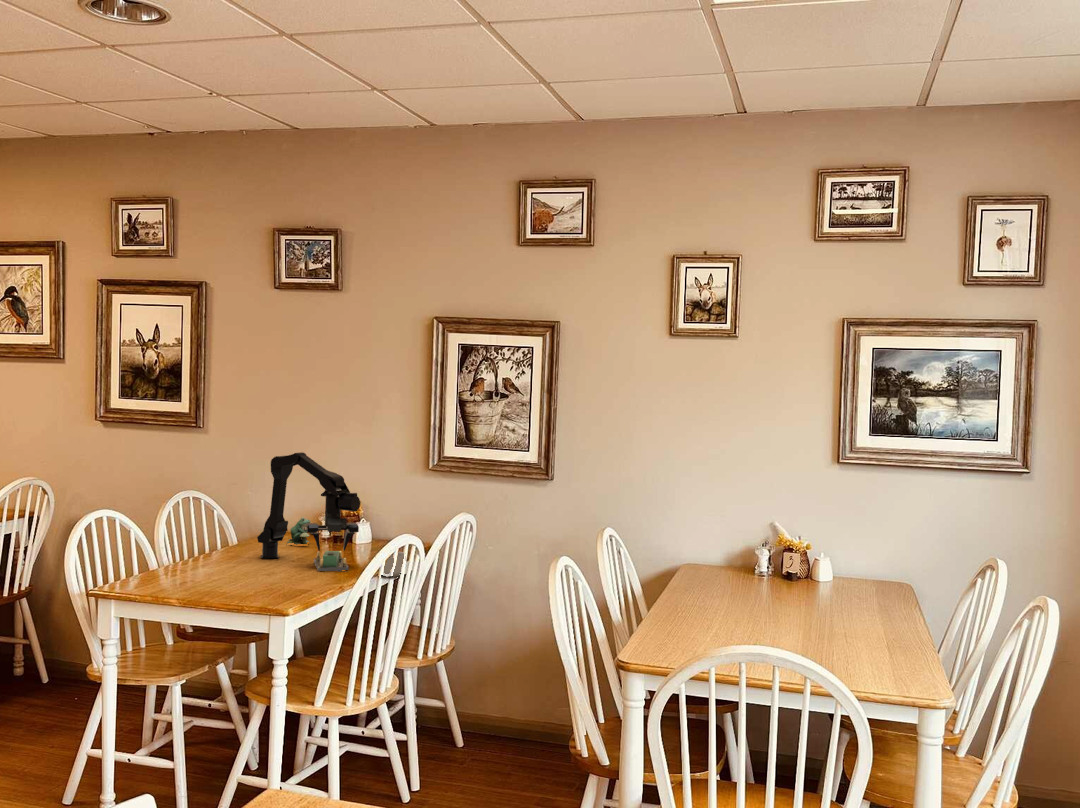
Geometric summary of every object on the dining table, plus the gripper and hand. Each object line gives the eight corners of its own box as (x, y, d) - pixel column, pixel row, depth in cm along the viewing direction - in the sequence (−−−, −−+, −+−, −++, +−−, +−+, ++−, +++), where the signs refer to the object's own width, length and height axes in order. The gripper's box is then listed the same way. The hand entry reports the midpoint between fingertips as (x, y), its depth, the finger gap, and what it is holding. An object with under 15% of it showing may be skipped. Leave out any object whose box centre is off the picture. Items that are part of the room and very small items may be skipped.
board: (325, 560, 364) (325, 549, 363) (338, 560, 364) (339, 550, 364) (322, 565, 354) (322, 554, 353) (336, 565, 354) (336, 555, 354)
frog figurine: (320, 549, 393) (321, 521, 393) (274, 549, 390) (275, 521, 389) (322, 542, 411) (323, 515, 410) (278, 541, 407) (279, 514, 407)
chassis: (313, 562, 365) (314, 550, 365) (343, 562, 369) (343, 550, 369) (318, 571, 349) (318, 559, 349) (348, 571, 353) (349, 558, 352)
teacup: (408, 578, 345) (408, 555, 345) (378, 579, 341) (378, 556, 341) (399, 570, 358) (399, 548, 358) (370, 571, 354) (370, 549, 354)
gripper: (309, 512, 348) (307, 555, 348) (361, 512, 354) (359, 554, 354) (306, 508, 358) (305, 549, 359) (357, 507, 364) (355, 548, 365)
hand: (331, 550), depth 359 cm, fingers open, 9 cm apart
